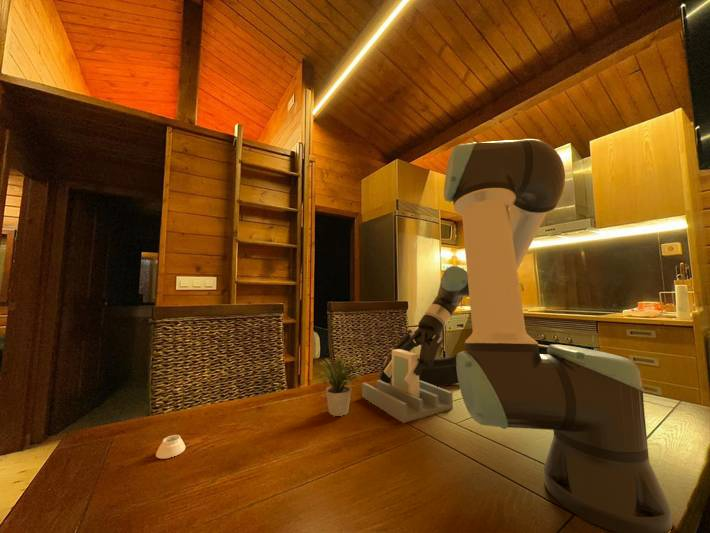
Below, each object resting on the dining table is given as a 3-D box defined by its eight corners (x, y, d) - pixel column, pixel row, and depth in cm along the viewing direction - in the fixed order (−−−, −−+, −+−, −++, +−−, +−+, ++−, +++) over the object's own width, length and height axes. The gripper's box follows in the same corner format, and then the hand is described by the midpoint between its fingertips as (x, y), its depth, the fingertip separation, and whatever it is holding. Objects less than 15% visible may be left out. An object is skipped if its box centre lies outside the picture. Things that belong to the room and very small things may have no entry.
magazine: (468, 358, 104) (390, 334, 103) (472, 360, 101) (392, 336, 100) (456, 404, 102) (377, 381, 101) (460, 408, 99) (378, 384, 98)
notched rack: (406, 388, 97) (406, 374, 98) (452, 408, 80) (452, 392, 81) (362, 397, 88) (362, 383, 89) (403, 423, 71) (403, 404, 72)
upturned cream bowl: (174, 444, 61) (150, 457, 57) (175, 430, 62) (151, 441, 57) (190, 450, 59) (166, 463, 55) (191, 435, 60) (167, 447, 55)
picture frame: (399, 387, 89) (399, 348, 90) (419, 396, 82) (418, 354, 83) (391, 389, 88) (391, 349, 89) (411, 398, 80) (410, 355, 81)
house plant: (339, 432, 66) (340, 361, 68) (299, 417, 75) (300, 353, 76) (373, 412, 78) (372, 351, 79) (335, 400, 86) (335, 346, 88)
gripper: (467, 332, 85) (430, 397, 75) (417, 325, 103) (382, 377, 94) (454, 315, 83) (414, 380, 73) (405, 311, 101) (368, 362, 92)
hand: (396, 378), depth 83 cm, fingers closed on picture frame, 9 cm apart
